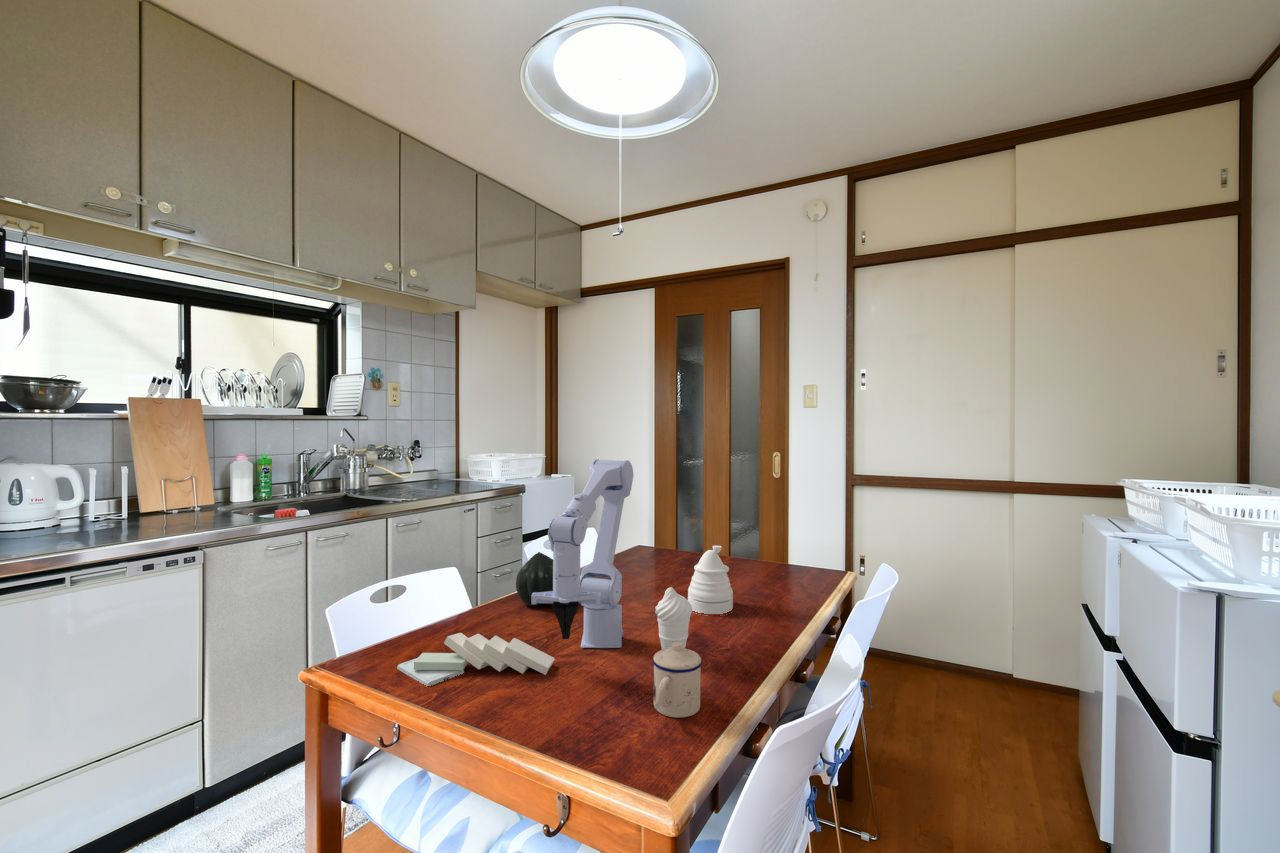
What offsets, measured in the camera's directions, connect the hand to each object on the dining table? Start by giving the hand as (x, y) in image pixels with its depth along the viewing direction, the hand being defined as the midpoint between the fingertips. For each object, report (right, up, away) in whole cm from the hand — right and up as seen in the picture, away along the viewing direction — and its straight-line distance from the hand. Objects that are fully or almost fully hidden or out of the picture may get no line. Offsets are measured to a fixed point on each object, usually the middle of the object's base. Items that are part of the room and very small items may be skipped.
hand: (566, 637), depth 117 cm
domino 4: (-8, -6, 0) cm, 10 cm away
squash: (-13, -7, +44) cm, 47 cm away
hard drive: (-28, -8, -1) cm, 29 cm away
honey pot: (+36, -8, +41) cm, 55 cm away
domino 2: (-17, -6, 0) cm, 18 cm away
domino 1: (-21, -5, -1) cm, 22 cm away
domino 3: (-12, -6, 0) cm, 14 cm away
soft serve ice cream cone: (+23, -7, +6) cm, 25 cm away
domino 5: (-3, -6, 0) cm, 7 cm away
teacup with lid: (+22, -7, -16) cm, 28 cm away
